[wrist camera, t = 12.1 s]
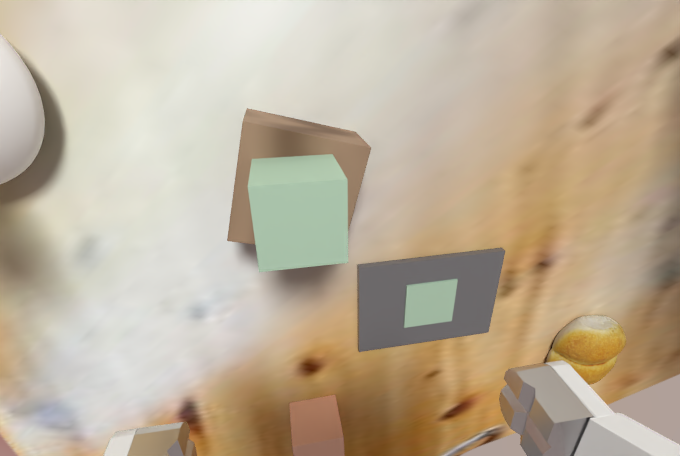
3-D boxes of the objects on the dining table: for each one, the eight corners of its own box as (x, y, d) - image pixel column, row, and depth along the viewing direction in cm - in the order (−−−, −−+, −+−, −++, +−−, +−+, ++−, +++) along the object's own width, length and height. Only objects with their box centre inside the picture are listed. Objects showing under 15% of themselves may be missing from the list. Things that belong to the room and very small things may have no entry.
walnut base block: (355, 131, 28) (371, 147, 24) (331, 225, 31) (341, 255, 27) (247, 107, 26) (242, 121, 21) (233, 210, 29) (227, 240, 25)
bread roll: (535, 373, 45) (558, 401, 42) (558, 315, 41) (585, 340, 38) (594, 366, 46) (621, 393, 43) (621, 310, 43) (653, 334, 39)
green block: (332, 154, 23) (347, 179, 19) (334, 225, 26) (348, 262, 21) (251, 159, 23) (247, 186, 18) (260, 231, 25) (259, 272, 20)
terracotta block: (335, 393, 40) (343, 437, 36) (337, 423, 43) (345, 467, 38) (289, 402, 40) (292, 446, 35) (293, 431, 42) (296, 477, 37)
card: (501, 247, 35) (506, 252, 34) (485, 328, 40) (489, 333, 39) (357, 264, 33) (359, 269, 32) (357, 347, 38) (359, 353, 37)
